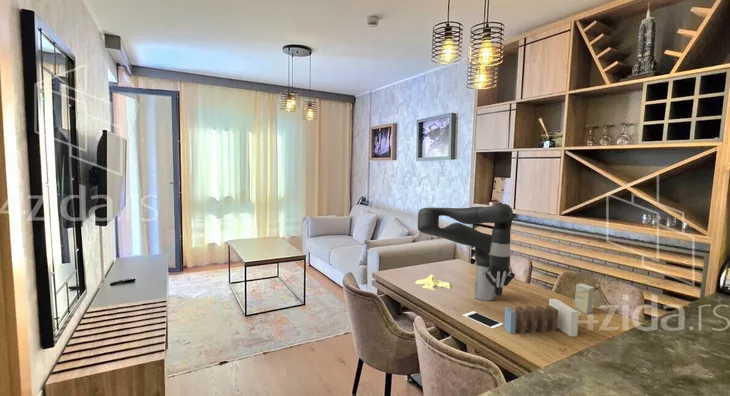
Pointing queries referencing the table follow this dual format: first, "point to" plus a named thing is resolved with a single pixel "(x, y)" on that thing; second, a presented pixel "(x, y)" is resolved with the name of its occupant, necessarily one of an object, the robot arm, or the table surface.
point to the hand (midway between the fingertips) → (498, 295)
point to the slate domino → (510, 320)
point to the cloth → (432, 283)
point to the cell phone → (483, 319)
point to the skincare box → (584, 298)
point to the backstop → (566, 317)
